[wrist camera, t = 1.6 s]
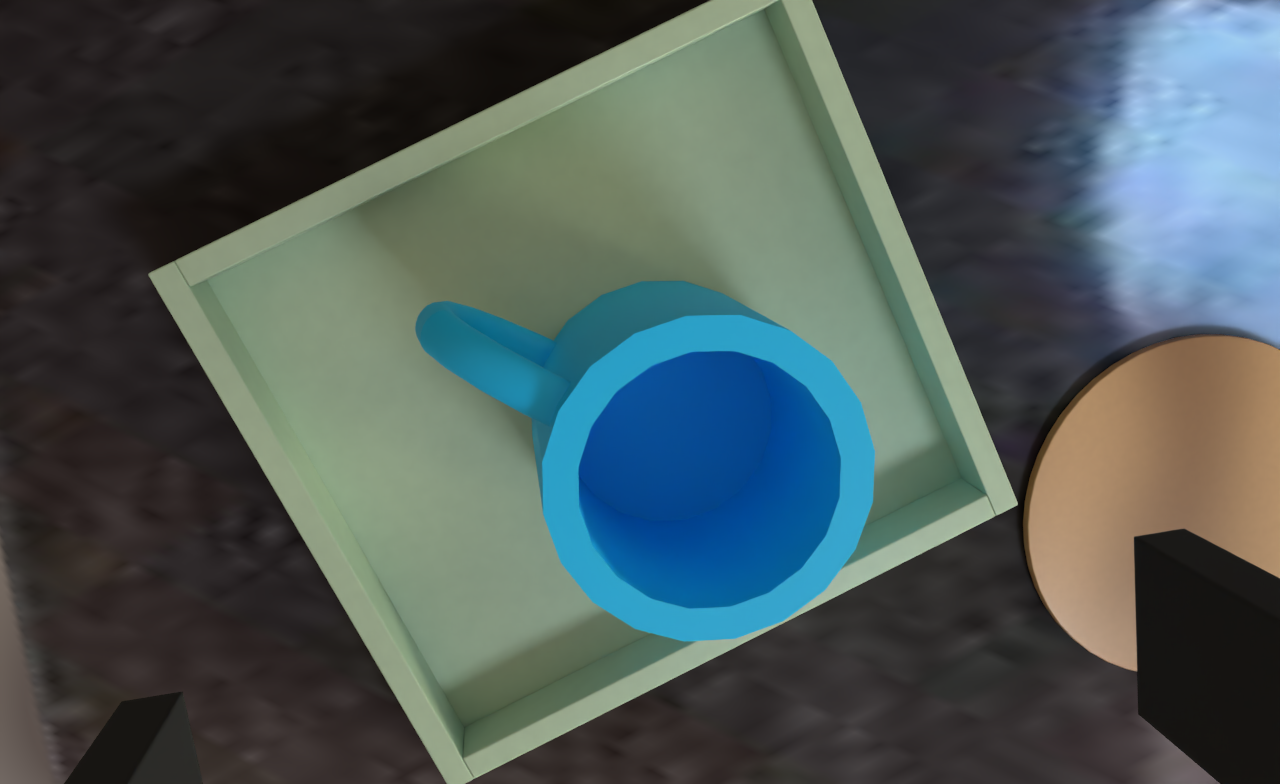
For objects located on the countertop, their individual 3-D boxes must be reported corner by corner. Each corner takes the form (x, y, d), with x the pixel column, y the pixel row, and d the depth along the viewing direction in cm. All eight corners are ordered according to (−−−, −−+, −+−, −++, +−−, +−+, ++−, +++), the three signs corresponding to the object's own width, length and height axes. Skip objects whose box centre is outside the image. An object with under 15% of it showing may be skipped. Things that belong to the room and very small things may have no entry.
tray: (773, -27, 33) (795, -42, 31) (985, 483, 37) (1019, 505, 35) (172, 265, 33) (146, 274, 30) (453, 749, 37) (450, 791, 34)
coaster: (1292, 272, 37) (1300, 273, 37) (1390, 575, 40) (1399, 579, 40) (970, 433, 37) (975, 436, 36) (1092, 727, 40) (1098, 733, 39)
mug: (835, 350, 35) (935, 403, 27) (716, 575, 36) (778, 690, 28) (486, 173, 33) (484, 175, 25) (369, 420, 34) (330, 498, 26)
